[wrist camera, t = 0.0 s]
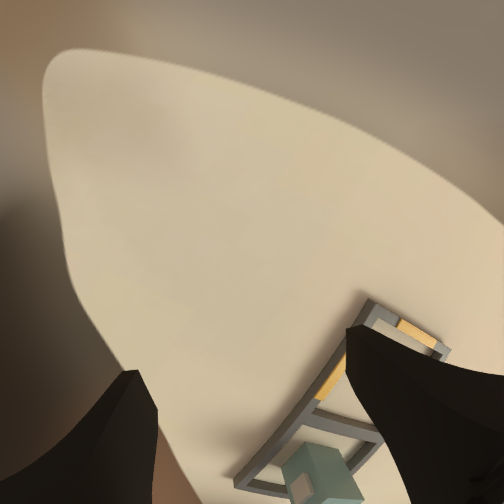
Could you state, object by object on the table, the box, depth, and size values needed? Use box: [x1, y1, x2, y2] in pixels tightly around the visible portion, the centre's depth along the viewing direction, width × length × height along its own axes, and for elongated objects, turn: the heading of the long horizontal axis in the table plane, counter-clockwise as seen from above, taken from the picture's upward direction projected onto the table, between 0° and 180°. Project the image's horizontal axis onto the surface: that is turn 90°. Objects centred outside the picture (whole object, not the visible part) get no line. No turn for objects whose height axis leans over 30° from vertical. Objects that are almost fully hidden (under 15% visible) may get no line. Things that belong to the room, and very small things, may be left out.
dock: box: [233, 299, 452, 499], centre depth 22 cm, size 21×11×1 cm, turn 150°
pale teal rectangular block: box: [281, 442, 365, 504], centre depth 20 cm, size 4×4×7 cm
